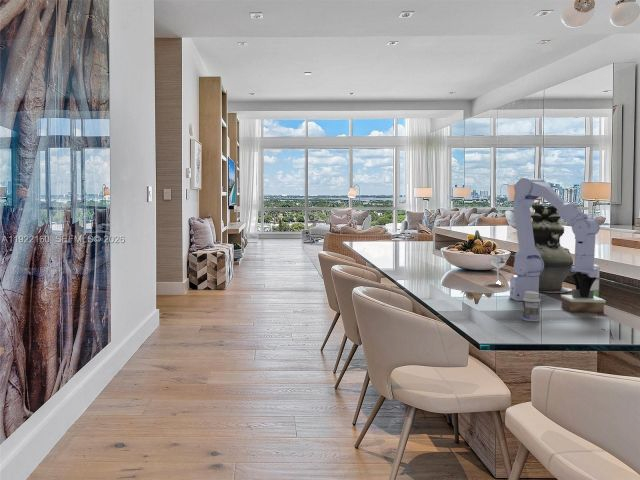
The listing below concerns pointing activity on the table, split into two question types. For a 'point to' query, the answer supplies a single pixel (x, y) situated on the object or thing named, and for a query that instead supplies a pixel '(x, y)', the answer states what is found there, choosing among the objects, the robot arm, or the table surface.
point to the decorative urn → (550, 249)
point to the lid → (577, 298)
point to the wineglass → (498, 264)
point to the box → (583, 306)
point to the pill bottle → (531, 306)
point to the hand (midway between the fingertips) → (582, 296)
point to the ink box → (596, 282)
